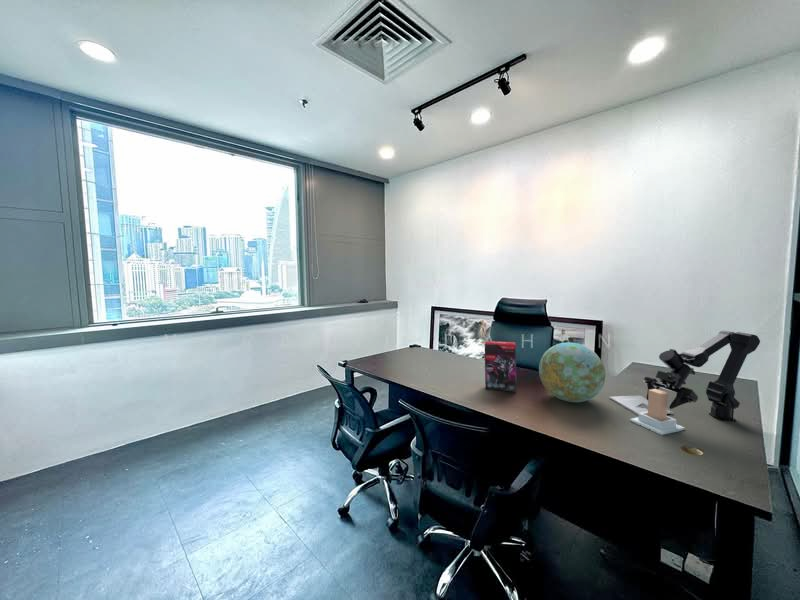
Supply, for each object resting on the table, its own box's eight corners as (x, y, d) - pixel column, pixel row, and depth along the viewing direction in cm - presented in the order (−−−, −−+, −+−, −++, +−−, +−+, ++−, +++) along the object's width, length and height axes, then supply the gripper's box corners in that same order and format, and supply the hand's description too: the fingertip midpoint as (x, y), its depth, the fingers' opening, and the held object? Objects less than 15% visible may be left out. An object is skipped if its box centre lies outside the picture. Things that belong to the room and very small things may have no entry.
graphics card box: (484, 390, 183) (484, 343, 181) (485, 385, 190) (485, 340, 187) (516, 392, 178) (516, 344, 175) (516, 388, 184) (516, 341, 182)
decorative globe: (556, 385, 187) (557, 334, 184) (614, 401, 163) (616, 343, 160) (527, 398, 169) (527, 343, 166) (587, 418, 145) (589, 353, 142)
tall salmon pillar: (654, 419, 140) (655, 388, 139) (666, 424, 135) (667, 392, 134) (647, 421, 139) (648, 389, 138) (659, 426, 134) (660, 394, 133)
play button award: (640, 395, 166) (673, 412, 147) (640, 398, 167) (673, 415, 147) (609, 396, 166) (638, 413, 146) (609, 399, 166) (638, 416, 146)
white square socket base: (652, 416, 145) (652, 407, 145) (684, 429, 133) (685, 420, 133) (630, 420, 142) (630, 412, 141) (661, 435, 129) (662, 425, 129)
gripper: (646, 358, 145) (627, 385, 143) (694, 370, 128) (673, 401, 125) (658, 373, 148) (640, 400, 146) (707, 387, 130) (686, 417, 128)
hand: (658, 404), depth 137 cm, fingers open, 9 cm apart
